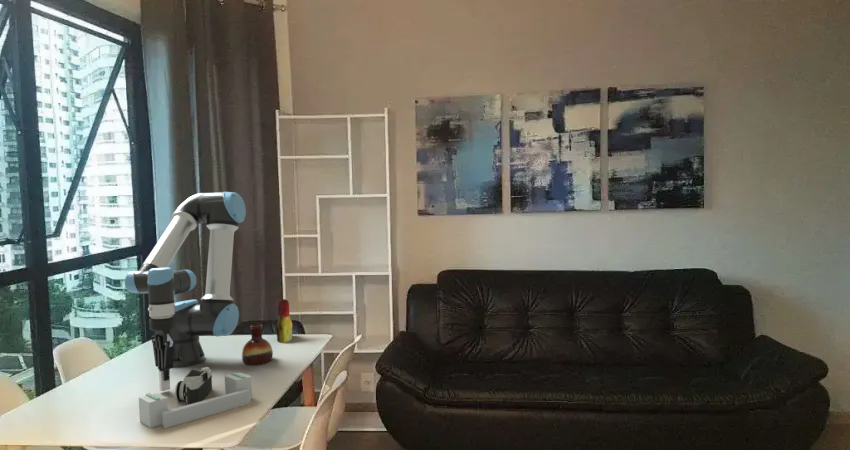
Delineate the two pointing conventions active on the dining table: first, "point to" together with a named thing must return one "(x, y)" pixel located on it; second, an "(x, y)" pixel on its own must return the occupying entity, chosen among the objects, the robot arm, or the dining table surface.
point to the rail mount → (195, 404)
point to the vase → (257, 348)
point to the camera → (194, 386)
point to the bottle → (284, 322)
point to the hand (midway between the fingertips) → (165, 389)
